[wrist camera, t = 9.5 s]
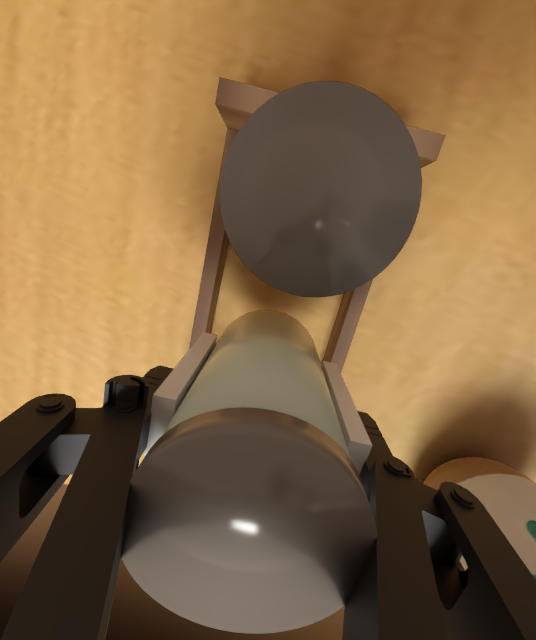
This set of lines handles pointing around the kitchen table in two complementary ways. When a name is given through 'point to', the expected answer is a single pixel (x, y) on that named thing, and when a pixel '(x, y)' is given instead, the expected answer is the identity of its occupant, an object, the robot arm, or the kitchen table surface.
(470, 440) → the kitchen table surface
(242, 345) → the sage jar
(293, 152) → the amber jar
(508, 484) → the vase
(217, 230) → the wooden spice rack
